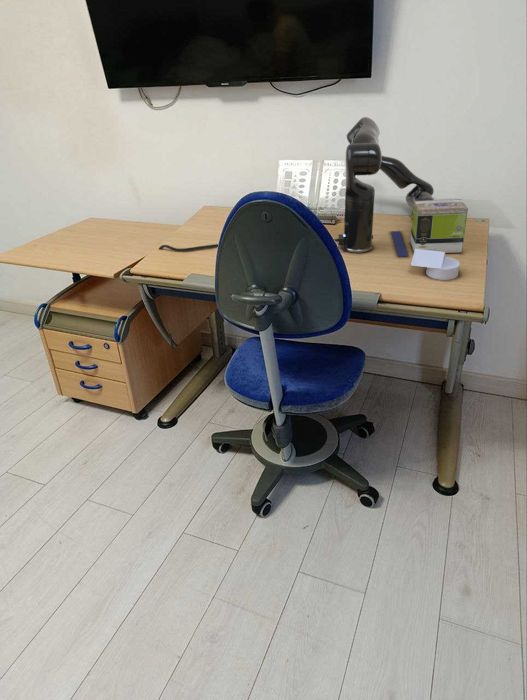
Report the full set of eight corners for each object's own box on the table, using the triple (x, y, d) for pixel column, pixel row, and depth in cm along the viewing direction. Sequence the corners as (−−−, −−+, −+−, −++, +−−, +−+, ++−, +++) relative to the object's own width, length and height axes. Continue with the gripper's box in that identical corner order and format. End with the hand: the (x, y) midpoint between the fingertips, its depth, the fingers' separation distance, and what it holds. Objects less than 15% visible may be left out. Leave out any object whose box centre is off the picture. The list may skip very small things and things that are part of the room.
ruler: (398, 256, 162) (398, 255, 161) (391, 232, 180) (391, 231, 180) (407, 256, 161) (407, 255, 161) (399, 232, 179) (399, 231, 179)
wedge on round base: (409, 275, 150) (455, 281, 145) (412, 254, 146) (459, 259, 141) (415, 263, 156) (459, 269, 151) (418, 243, 153) (463, 247, 148)
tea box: (455, 242, 169) (462, 198, 161) (461, 253, 161) (469, 207, 152) (409, 242, 171) (413, 199, 163) (413, 254, 162) (418, 209, 154)
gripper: (443, 217, 182) (453, 235, 168) (406, 218, 184) (412, 235, 169) (446, 197, 178) (457, 212, 163) (408, 198, 179) (415, 213, 165)
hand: (434, 224), depth 166 cm, fingers closed
